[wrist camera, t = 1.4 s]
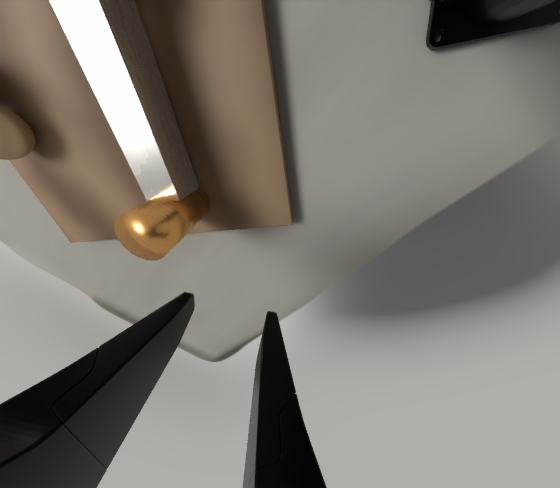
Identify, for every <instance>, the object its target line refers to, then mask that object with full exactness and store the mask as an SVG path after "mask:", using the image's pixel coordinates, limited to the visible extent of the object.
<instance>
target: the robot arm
mask: <svg viewBox="0 0 560 488" xmlns="http://www.w3.org/2000/svg"><path fill="white" fill-rule="evenodd" d="M430 1H432V2H431V9H430V16H429V23H428V30H427V37H426V44H427V47H428V48H430V49H438V48H442V47H447V46H452V45H457V44H462V43H466V42H471V41H476V40H481V39H486V38H490V37H495V36H500V35H505V34H510V33H514V32H519V31H524V30H529V29H534V28H538V27H543V26H548V25H553V24H556V23H558V22H560V14H559V13H558V12H559V8H560V0H430ZM437 31H440V32H441V39H440V40H439V42H437V41H435V38H434V36H435V33H436V32H437ZM194 307H195V304H194V295H193V294H191V293H187V292H184V293H182V294H180V295H179V296H177V297H176V298H174V299H173V300H171V301H169V302H168V303H166V304H165V305H163V306H162V307H160V308H159V309H157V310H155V311H154V312H152V313H151V314H149V315H148V316H146V317H145V318H143V319H141V320H140V321H138V322H137V323H135V324H134V325H132V326H131V327H129V328H127V329H126V330H124V331H123V332H121V333H120V334H118V335H117V336H115V337H114V338H112V339H110V340H109V341H107V342H106V343H104V344H103V345H101V346H100V347H99V348H96V349H95V350H93V351H92V352H90V353H89V354H87V355H85V356H84V357H82V358H80V359H79V360H77V361H76V362H74V363H72V364H71V365H69V366H68V367H66V368H64V369H62V370H61V371H59V372H57V373H55V374H54V375H52V376H50V377H48V378H47V379H45V380H43V381H41V382H39V383H38V384H36V385H34V386H32V387H30V388H29V389H27V390H25V391H23V392H21V393H20V394H18V395H16V396H14V397H12V398H11V399H9V400H7V401H5V402H3V403H2V404H0V488H97V486H98V484H99V482H100V481H101V479H102V477H103V475H104V474H105V472H106V470H107V468H108V467H109V465H110V463H111V461H112V460H113V458H114V456H115V454H116V453H117V451H118V449H119V447H120V446H121V444H122V442H123V440H124V439H125V437H126V435H127V433H128V432H129V430H130V428H131V427H132V425H133V423H134V421H135V420H136V418H137V416H138V414H139V413H140V411H141V409H142V407H143V405H144V404H145V402H146V400H147V399H148V397H149V395H150V393H151V392H152V390H153V388H154V387H155V385H156V383H157V381H158V379H159V378H160V376H161V374H162V372H163V371H164V369H165V367H166V366H167V364H168V362H169V360H170V359H171V357H172V355H173V353H174V352H175V350H176V348H177V346H178V345H179V343H180V340H181V338H182V336H183V334H184V331H185V329H186V327H187V325H188V322H189V320H190V318H191V316H192V313H193V311H194ZM295 393H296V390H295V386H294V382H293V378H292V374H291V370H290V366H289V362H288V358H287V353H286V349H285V345H284V341H283V337H282V333H281V329H280V325H279V321H278V316H277V313H275V312H271V311H268V312H267V315H266V320H265V324H264V329H263V333H262V338H261V342H260V347H259V351H258V356H257V361H256V369H255V378H254V388H253V397H252V406H251V415H250V416H251V417H250V425H249V434H248V443H247V453H246V463H245V471H244V480H243V488H327V487H326V485H325V482H324V479H323V476H322V474H321V471H320V468H319V465H318V462H317V459H316V457H315V454H314V451H313V448H312V445H311V442H310V439H309V436H308V433H307V430H306V427H305V424H304V421H303V417H302V414H301V410H300V406H299V402H298V399H297V395H296V394H295Z"/></svg>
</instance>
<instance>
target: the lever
mask: <svg viewBox="0 0 560 488" xmlns="http://www.w3.org/2000/svg"><path fill="white" fill-rule="evenodd" d="M50 2H51V5H52V7H53V9H54V11H55V13H56V15H57V17H58V19H59V21H60V23H61V25H62V27H63V29H64V31H65V33H66V35H67V37H68V40H69V42H70V44H71V46H72V48H73V50H74V52H75V54H76V56H77V58H78V60H79V62H80V64H81V66H82V68H83V70H84V73H85V75H86V77H87V79H88V81H89V83H90V85H91V87H92V89H93V91H94V93H95V95H96V97H97V99H98V101H99V103H100V105H101V108H102V110H103V112H104V114H105V116H106V118H107V120H108V122H109V124H110V126H111V128H112V130H113V132H114V134H115V136H116V138H117V141H118V143H119V145H120V147H121V149H122V151H123V153H124V155H125V157H126V159H127V161H128V163H129V165H130V167H131V169H132V171H133V174H134V176H135V178H136V180H137V182H138V184H139V186H140V188H141V190H142V192H143V194H144V196H145V198H146V200H147V201H146V202H144V203H142V204H140V205H138V206H136V207H135V208H133V209H131V210H129V211H127V212H126V213H124V214H122V215H120V216H119V217H118V218H117V219H116V221H115V233H116V236H117V238H118V240H119V241H120V243H121V244H122V245H123V246H124V247H125V248H126V249H127V250H128V251H129V252H131V253H132V254H134V255H136V256H137V257H140V258H142V259H146V260H158V259H161V258H163V257H164V256H165V255H166V254H167V253H168V252H169V251H170V250H171V249H172V248H173V247H174V246H175V245H176V244H177V243H178V242H179V241H180V240H181V239H182V238H183V237H184V236H185V235H186V234H187V233H188V232H189V231H190V230H191V229H192V228H193V227H194V226H195V225H196V224H197V223H198V222H199V221H200V220H201V219H202V218H203V217H204V216H205V215H206V214H207V213H208V211H209V200H208V197H207V196H206V194H205V192H204V191H203V190H202V189H201V188H200V187H199V185H198V182H197V179H196V176H195V173H194V170H193V167H192V164H191V162H190V159H189V156H188V153H187V150H186V147H185V144H184V141H183V138H182V135H181V133H180V130H179V127H178V124H177V121H176V118H175V115H174V112H173V109H172V106H171V104H170V101H169V98H168V95H167V92H166V89H165V86H164V83H163V80H162V77H161V75H160V72H159V69H158V66H157V63H156V60H155V57H154V54H153V51H152V48H151V46H150V43H149V40H148V37H147V34H146V31H145V28H144V25H143V22H142V19H141V17H140V14H139V11H138V8H137V5H136V2H135V0H50Z"/></svg>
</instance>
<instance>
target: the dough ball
mask: <svg viewBox="0 0 560 488" xmlns="http://www.w3.org/2000/svg"><path fill="white" fill-rule="evenodd" d="M34 146H35V136H34V133H33V131H32V129H31V128H30V126H29V125H28V124H27V123H26V122H25V121H24V120H23V119H22V118H21V117H20V116H18V115H17V114H16V113H14V112H12V111H11V110H9V109H7V108H5V107H2V106H0V159H5V160H11V159H18V158H22V157H24V156H26V155H28V154H29V153H30V152H31V151H32V150H33V148H34Z"/></svg>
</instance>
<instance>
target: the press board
mask: <svg viewBox="0 0 560 488" xmlns="http://www.w3.org/2000/svg"><path fill="white" fill-rule="evenodd" d="M135 2H136V5H137V8H138V11H139V14H140V17H141V19H142V22H143V25H144V28H145V31H146V34H147V37H148V40H149V43H150V46H151V48H152V51H153V54H154V57H155V60H156V63H157V66H158V69H159V72H160V75H161V77H162V80H163V83H164V86H165V89H166V92H167V95H168V98H169V101H170V104H171V106H172V109H173V112H174V115H175V118H176V121H177V124H178V127H179V130H180V133H181V135H182V138H183V141H184V144H185V147H186V150H187V153H188V156H189V159H190V162H191V164H192V167H193V170H194V173H195V176H196V179H197V182H198V185H199V187H200V188H201V189H202V190H203V191H204V192H205V194H206V196H207V197H208V200H209V211H208V213H207V214H206V215H205V216H204V217H203V218H202V219H201V220H200V221H199V222H198V223H197V224H196V225H195V226H194V227H193V228H192V229H191V230H190V231H189V232H188V233H197V232H209V231H222V230H234V229H247V228H259V227H271V226H284V225H292V221H293V215H292V208H291V200H290V193H289V185H288V178H287V170H286V163H285V155H284V148H283V140H282V133H281V125H280V118H279V110H278V103H277V95H276V88H275V80H274V72H273V65H272V57H271V50H270V42H269V35H268V27H267V20H266V12H265V5H264V0H135ZM0 106H2V107H5V108H7V109H9V110H11V111H12V112H14V113H16V114H17V115H18V116H20V117H21V118H22V119H23V120H24V121H25V122H26V123H27V124H28V125H29V126H30V128H31V129H32V131H33V133H34V136H35V146H34V148H33V150H32V151H31V152H30V153H29V154H28V155H26V156H24V157H22V158H18V159H11V160H9V161H10V162H11V163H12V165H13V166H14V167H15V169H16V170H17V171H18V173H19V174H20V175H21V177H22V178H23V179H24V181H25V182H26V183H27V185H28V186H29V187H30V189H31V190H32V191H33V193H34V194H35V195H36V197H37V198H38V199H39V201H40V202H41V203H42V205H43V206H44V207H45V209H46V210H47V211H48V213H49V214H50V215H51V217H52V218H53V219H54V221H55V222H56V223H57V225H58V226H59V227H60V229H61V230H62V231H63V233H64V234H65V235H66V237H67V238H68V239H69V241H70V242H71V243H73V242H86V241H98V240H110V239H118V238H117V236H116V233H115V221H116V219H117V218H118V217H119V216H120V215H122V214H124V213H126V212H127V211H129V210H131V209H133V208H135V207H136V206H138V205H140V204H142V203H144V202H146V201H147V200H146V198H145V196H144V194H143V192H142V190H141V188H140V186H139V184H138V182H137V180H136V178H135V176H134V174H133V171H132V169H131V167H130V165H129V163H128V161H127V159H126V157H125V155H124V153H123V151H122V149H121V147H120V145H119V143H118V141H117V138H116V136H115V134H114V132H113V130H112V128H111V126H110V124H109V122H108V120H107V118H106V116H105V114H104V112H103V110H102V108H101V105H100V103H99V101H98V99H97V97H96V95H95V93H94V91H93V89H92V87H91V85H90V83H89V81H88V79H87V77H86V75H85V73H84V70H83V68H82V66H81V64H80V62H79V60H78V58H77V56H76V54H75V52H74V50H73V48H72V46H71V44H70V42H69V40H68V37H67V35H66V33H65V31H64V29H63V27H62V25H61V23H60V21H59V19H58V17H57V15H56V13H55V11H54V9H53V7H52V5H51V2H50V0H0Z"/></svg>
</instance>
